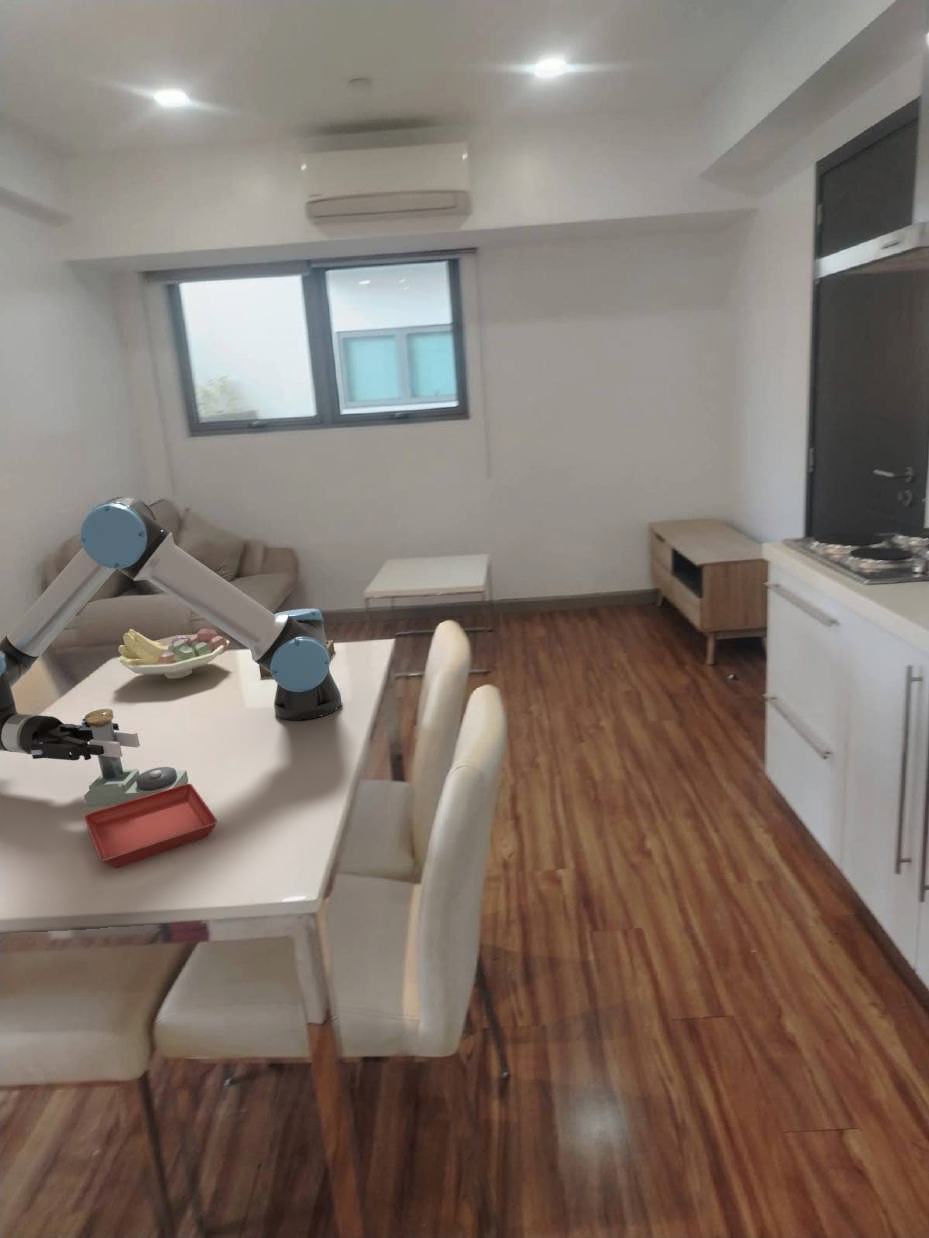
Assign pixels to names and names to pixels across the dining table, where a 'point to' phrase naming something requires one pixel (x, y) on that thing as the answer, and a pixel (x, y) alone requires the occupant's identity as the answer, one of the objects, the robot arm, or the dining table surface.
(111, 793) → the base
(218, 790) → the dining table surface
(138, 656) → the dish with food
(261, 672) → the wooden tray
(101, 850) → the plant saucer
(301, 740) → the dining table surface
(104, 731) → the pin
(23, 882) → the dining table surface
